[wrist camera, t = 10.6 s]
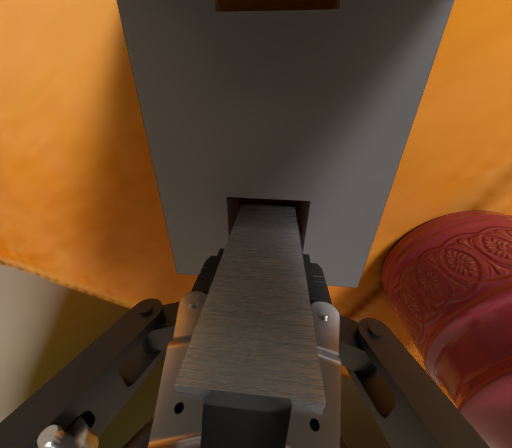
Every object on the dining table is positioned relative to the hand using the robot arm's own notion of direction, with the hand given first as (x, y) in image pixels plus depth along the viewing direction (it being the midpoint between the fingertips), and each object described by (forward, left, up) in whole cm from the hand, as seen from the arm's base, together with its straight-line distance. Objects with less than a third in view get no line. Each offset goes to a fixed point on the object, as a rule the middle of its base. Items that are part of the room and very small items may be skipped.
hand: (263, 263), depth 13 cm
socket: (0, -4, -8) cm, 9 cm away
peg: (0, 0, -4) cm, 4 cm away
